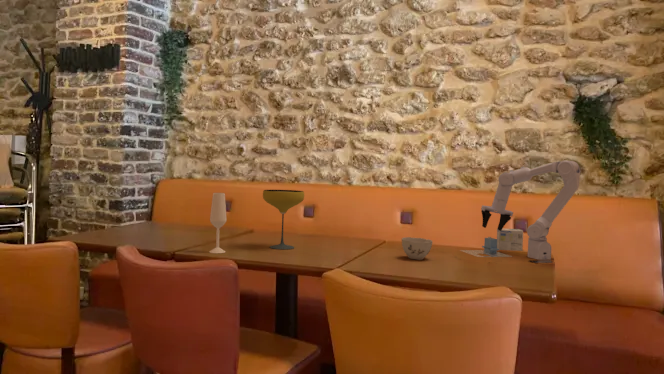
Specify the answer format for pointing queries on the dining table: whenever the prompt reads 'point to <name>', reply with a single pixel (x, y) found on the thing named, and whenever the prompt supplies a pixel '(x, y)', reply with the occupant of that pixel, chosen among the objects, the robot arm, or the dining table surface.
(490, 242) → the servo
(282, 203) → the cocktail glass
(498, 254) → the silver flat plate
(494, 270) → the dining table surface
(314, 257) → the dining table surface
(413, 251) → the teacup
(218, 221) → the champagne flute
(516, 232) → the light bulb box
